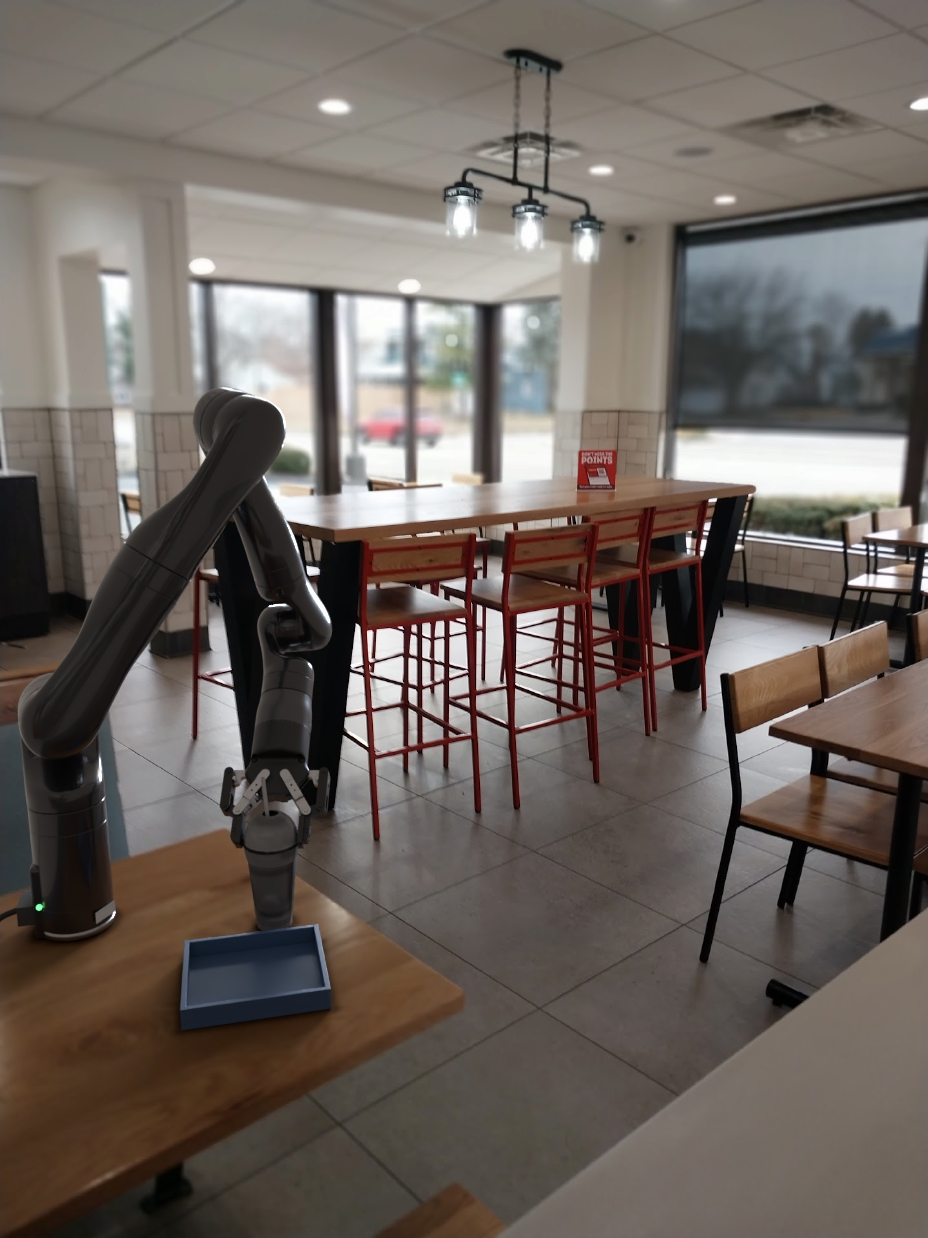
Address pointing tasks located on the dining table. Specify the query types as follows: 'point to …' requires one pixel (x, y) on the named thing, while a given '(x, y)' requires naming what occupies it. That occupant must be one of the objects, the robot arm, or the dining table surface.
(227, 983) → the tray
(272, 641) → the robot arm
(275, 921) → the beverage cup
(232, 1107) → the dining table surface
